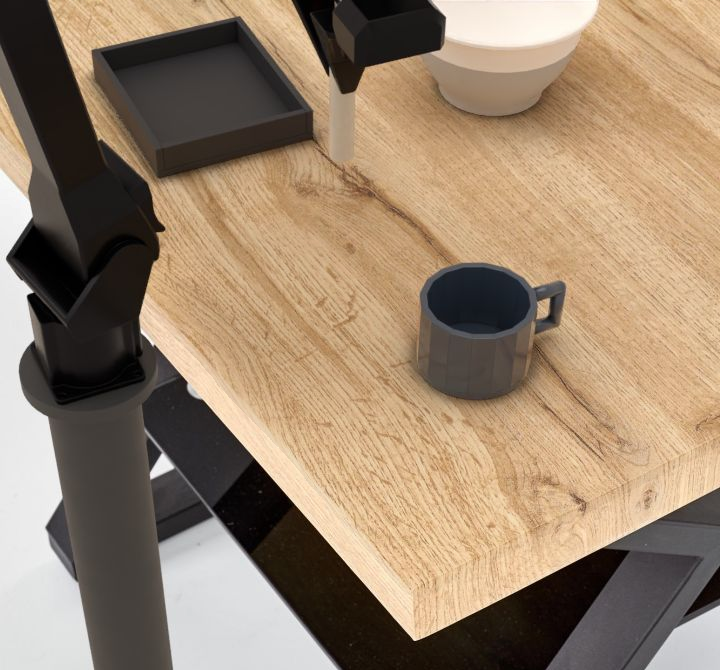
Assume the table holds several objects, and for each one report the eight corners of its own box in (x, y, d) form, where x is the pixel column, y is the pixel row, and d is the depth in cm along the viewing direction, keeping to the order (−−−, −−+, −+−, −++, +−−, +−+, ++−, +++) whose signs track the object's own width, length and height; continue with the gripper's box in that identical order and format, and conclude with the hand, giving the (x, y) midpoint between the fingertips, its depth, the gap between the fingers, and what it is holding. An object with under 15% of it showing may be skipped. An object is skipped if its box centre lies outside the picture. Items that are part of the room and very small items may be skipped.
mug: (448, 413, 106) (453, 351, 102) (397, 341, 110) (400, 280, 106) (586, 368, 109) (596, 307, 105) (530, 301, 113) (538, 239, 109)
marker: (334, 166, 112) (335, 26, 103) (323, 150, 113) (323, 11, 105) (360, 159, 112) (363, 20, 104) (348, 144, 113) (351, 5, 105)
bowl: (406, 146, 126) (410, 50, 119) (385, 37, 136) (388, -56, 130) (603, 138, 127) (618, 42, 120) (567, 31, 137) (579, -62, 131)
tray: (158, 178, 122) (155, 150, 120) (94, 77, 131) (90, 49, 129) (313, 138, 126) (313, 110, 124) (241, 43, 135) (240, 15, 133)
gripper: (532, -94, 93) (508, 131, 105) (399, -222, 104) (391, -6, 116) (360, -59, 90) (355, 169, 102) (241, -195, 101) (250, 25, 113)
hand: (341, 84), depth 108 cm, fingers closed on marker, 2 cm apart
